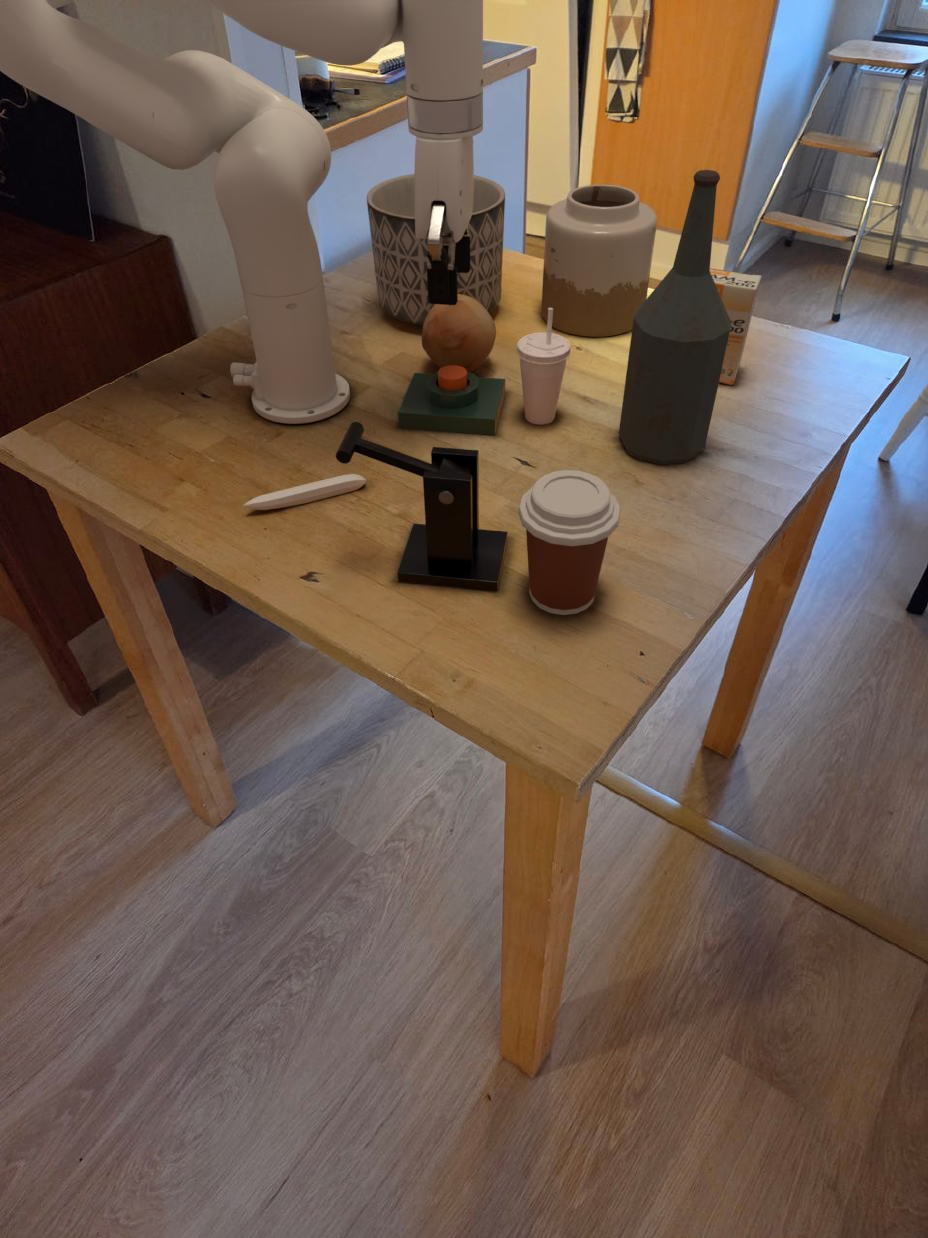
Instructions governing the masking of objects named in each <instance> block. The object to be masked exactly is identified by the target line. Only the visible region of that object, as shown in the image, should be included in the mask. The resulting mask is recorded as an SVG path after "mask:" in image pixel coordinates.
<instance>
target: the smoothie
mask: <svg viewBox="0 0 928 1238" xmlns="http://www.w3.org/2000/svg"><path fill="white" fill-rule="evenodd" d="M552 319H553V308H548V322H546V323H547V324H546V325H547V326H546V332H542V331H541V332H534V333H533V332H532V333H529V334H526V335H524V336H522V337H521V338H520V339H519V340H517V342H516V343H517V344H516V355H517V357H518V358H519V368H520V379H521V387H522V398H523V399H522V400H523V409H524V418H525V420H526V421H527V422H529V423H530V424H533V425H548V424H551V423H552V422H553V421H554V420H555V417H556V412H557V407H558V403H559V398H560V393H561V389H562V384H563V379H564V373H565V369H566V365H567V360H568V358H569V357H570V355H571V346H572V345H571V343H570V341H569V339H567V338H566V337H565V336H562V335H560V334H557V333H553V327H552Z"/></svg>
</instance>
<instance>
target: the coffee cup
mask: <svg viewBox="0 0 928 1238" xmlns="http://www.w3.org/2000/svg"><path fill="white" fill-rule="evenodd" d="M621 510H622V509H621V506H620V504H619V502H618V500H617V498H616V496H615V495H614V494H613V493H612V492H611V489H610V488H609V485H608V484H607V483H605V482H604V481H603V480H601V478H599V477H598V476H596V475H594V474H591V473H588V472H585V471H582V470H573V469H563V470H554V471H553V472H550V473H548V474H547V473H546V474H545V475H543V476H541V477H539V479H537V480H536V481H535V482H534V483H533V484H532V486H531V488H529V489H528V490H527V491H526V492H525V493H524V494H523V495H521V499H520V502H519V506H518V511H517V512H518V514H517V515H518V517H519V519H520V522H521V525H522V527H523V528H524V529H525V533H526V551H527V553H526V554H527V567H528V568H527V569H528V585H529V589H528V593H529V596H530V598H531V601H532V602H533V603H534V604H535V605H536V606H537V607H538V608H539V609H541V610H543V611H545V612H547V613H550V614H552V615H553V614H554V615H561V616H566V615H567V616H568V615H577V614H578V613H581V612H584V611H586V610H587V609H588V608H589V607H590V606H591V605H592V604H593V603H594V601H595V595H596V592H597V591H596V590H597V587H598V583H599V578H600V573H601V570H602V565H603V561H604V558H605V553H606V549H607V544H608V540H609V537H610V536H611V535H612V534H613V532H615V531H616V529H617V528H618V527H619V522H620V517H621Z"/></svg>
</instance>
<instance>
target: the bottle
mask: <svg viewBox="0 0 928 1238" xmlns="http://www.w3.org/2000/svg"><path fill="white" fill-rule="evenodd" d="M720 180H721V176H720V173H719V172H718V171H716V170H713V169H701V170H698V171H696V172H695V173H694V175H693V184H694V186H693V188H692V192H691V195H690V200H689V204H688V207H687V212H686V215H685V218H684V223H683V227H682V231H681V234H680V239H679V242H678V246H677V249H676V254H675V257H674V262H673V265H672V267H671V269H670V270H669V271H668V272H667V274H666V275H665V276H664V277H663V279H662V280H660V282H659V283H658V284H657V286H656V287H655V288H654V289H653V290H652V291H651V293H650V294H649V295H648V296H647V299H646V300H645V301H644V303H643V304H642V305H641V306H640V308H639V309H638V310H637V311H636V313H635V316H634V319H633V327H632V330H631V335H630V336H631V337H630V344H629V352H628V360H627V365H626V372H625V373H626V376H625V382H624V389H623V397H622V404H621V412H620V420H619V429H618V435H619V437H620V439H621V441H622V443H623V446H624V447H625V449H626V451H627V452H628V454H630V455H631V456H632V457H634V458H636V459H637V460H640V461H641V460H642V461H645V462H648V463H653V464H656V465H657V464H658V465H660V466H662V465H663V466H664V465H673V464H674V465H675V464H683V463H687V462H688V461H689V460H691V459H692V458H694V457H695V456H696V455H698V454H699V453H701V452H702V451H703V450H704V449H705V448H706V444H707V439H708V434H709V430H710V425H711V421H712V417H713V412H714V406H715V403H716V398H717V392H718V388H719V385H720V382H719V379H720V375H721V370H722V365H723V361H724V356H725V351H726V347H727V342H728V337H729V333H730V328H731V321H730V318H729V316H728V314H727V311H726V309H725V306H724V304H723V302H722V299H721V297H720V294H719V292H718V290H717V287H716V285H715V282H714V280H713V278H712V275H711V273H710V268H711V259H712V249H713V247H712V246H713V234H714V222H715V211H716V199H717V189H718V188H717V186H718V184H719V181H720Z"/></svg>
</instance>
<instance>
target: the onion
mask: <svg viewBox="0 0 928 1238" xmlns="http://www.w3.org/2000/svg"><path fill="white" fill-rule="evenodd" d="M496 336H497V326H496V323H495V321H494V319H493V317H492V316H491V314H490V313H488V311H487V310H486V309H485V308H484V307H483V306H482V305H481V304H480V303H479V302H478V301H476V300H475V299H473V298H471V297H469V296H466V295H462V294H458V301H457V303H456V305H441V304H435V305H434V306H433V307H432V308H431V310H430V311H429V313H428V315H427V317H426V319H425V322H424V325H422V333H421V345H422V346H421V347H422V349H423V350H424V352H425V353H426V355H427V357H429V359H430V360H431V361H432V362H433V364H435V365H436V366H437V367H439V369H441V368H442V367H444V366H449V365H457V366H461V367H463V368H465V369H466V370H467V371H468V372H470V373H472V372H474V371H475V370H477V369H478V368H479V367H481V366H482V365H483V364H484V363H485V361H486V360H487V358H488V357H489V356H490V354H491V352H492V351H493V348H494V345H495V341H496Z"/></svg>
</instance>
